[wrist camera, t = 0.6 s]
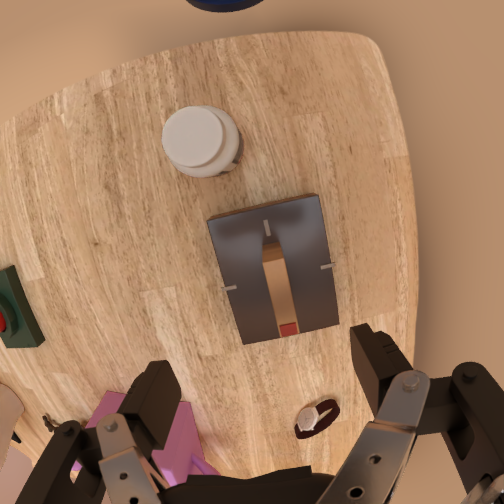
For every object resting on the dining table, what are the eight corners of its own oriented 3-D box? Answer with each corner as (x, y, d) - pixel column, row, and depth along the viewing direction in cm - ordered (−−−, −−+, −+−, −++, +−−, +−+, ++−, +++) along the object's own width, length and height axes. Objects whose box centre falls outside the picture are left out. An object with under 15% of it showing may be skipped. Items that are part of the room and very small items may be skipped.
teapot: (71, 382, 35) (28, 440, 21) (226, 404, 34) (214, 493, 21) (101, 440, 39) (74, 494, 25) (234, 461, 38) (227, 530, 25)
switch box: (-15, 276, 31) (-30, 285, 27) (13, 264, 30) (-5, 273, 26) (13, 342, 34) (0, 353, 30) (45, 340, 33) (31, 353, 29)
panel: (207, 217, 28) (202, 221, 25) (316, 191, 27) (322, 193, 24) (241, 333, 31) (239, 346, 28) (337, 312, 30) (343, 324, 27)
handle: (261, 245, 25) (262, 263, 20) (279, 241, 25) (284, 258, 20) (277, 309, 27) (280, 339, 22) (293, 306, 27) (300, 335, 22)
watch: (320, 390, 33) (324, 410, 30) (346, 401, 34) (352, 419, 30) (285, 423, 35) (286, 442, 31) (311, 432, 35) (314, 450, 32)
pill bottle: (214, 109, 25) (189, 79, 15) (256, 145, 26) (254, 130, 16) (176, 152, 26) (135, 144, 16) (218, 187, 27) (195, 196, 17)
